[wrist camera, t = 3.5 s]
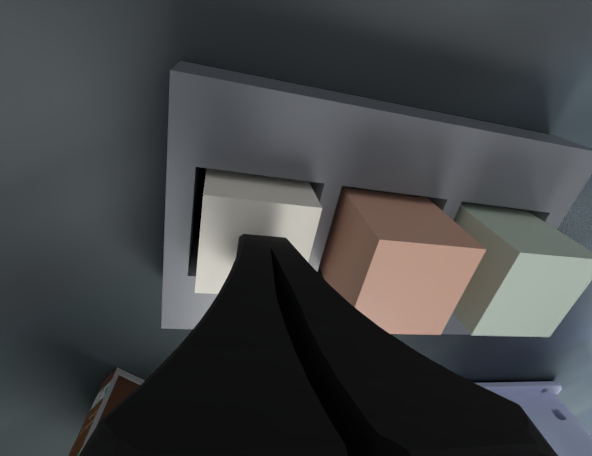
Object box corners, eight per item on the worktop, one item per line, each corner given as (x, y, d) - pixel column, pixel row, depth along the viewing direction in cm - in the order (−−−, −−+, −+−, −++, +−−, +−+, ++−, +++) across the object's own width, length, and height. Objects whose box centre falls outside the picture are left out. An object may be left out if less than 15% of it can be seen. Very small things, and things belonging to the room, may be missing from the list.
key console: (550, 134, 15) (604, 153, 13) (460, 300, 19) (490, 335, 17) (180, 60, 11) (169, 70, 9) (169, 285, 15) (161, 328, 13)
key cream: (300, 166, 13) (322, 207, 10) (283, 242, 15) (298, 297, 12) (208, 153, 13) (203, 194, 10) (200, 235, 14) (194, 293, 11)
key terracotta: (427, 197, 13) (486, 249, 10) (396, 271, 15) (440, 334, 12) (341, 186, 12) (379, 239, 9) (319, 266, 14) (345, 333, 11)
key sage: (526, 210, 14) (606, 260, 11) (488, 277, 16) (549, 336, 13) (454, 201, 13) (520, 252, 10) (422, 273, 15) (470, 335, 12)
